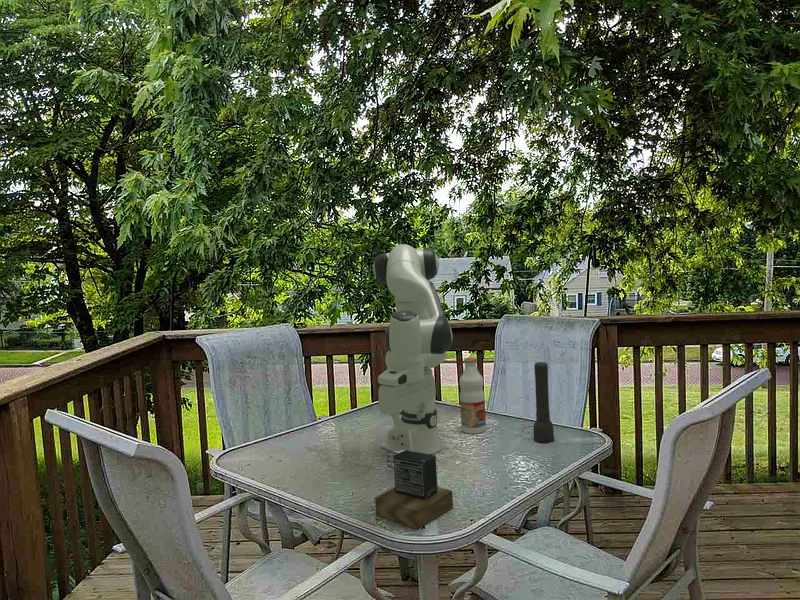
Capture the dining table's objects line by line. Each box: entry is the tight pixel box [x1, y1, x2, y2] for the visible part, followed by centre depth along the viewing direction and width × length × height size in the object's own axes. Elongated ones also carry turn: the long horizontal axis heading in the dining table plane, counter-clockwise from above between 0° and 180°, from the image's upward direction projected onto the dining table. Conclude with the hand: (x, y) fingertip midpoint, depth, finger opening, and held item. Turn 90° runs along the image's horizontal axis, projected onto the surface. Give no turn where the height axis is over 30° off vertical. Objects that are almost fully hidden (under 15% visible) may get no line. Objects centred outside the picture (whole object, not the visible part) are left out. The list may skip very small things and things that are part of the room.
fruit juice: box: [459, 357, 487, 435], centre depth 236 cm, size 9×9×28 cm
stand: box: [374, 486, 454, 530], centre depth 169 cm, size 15×15×5 cm
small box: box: [392, 450, 438, 500], centre depth 169 cm, size 11×6×10 cm, turn 54°
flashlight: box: [533, 361, 555, 444], centre depth 220 cm, size 7×28×7 cm
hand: (410, 422), depth 167 cm, fingers open, 8 cm apart
